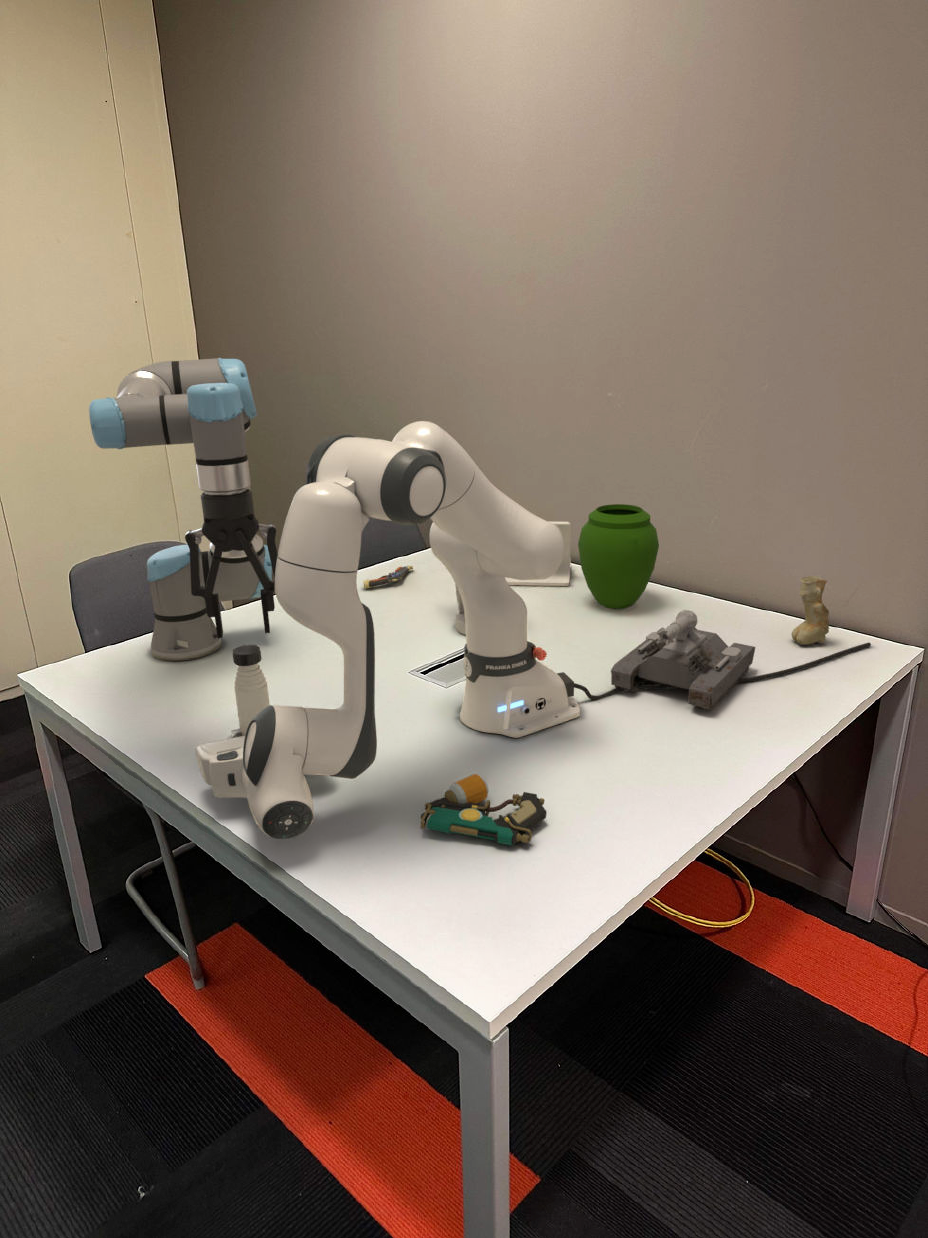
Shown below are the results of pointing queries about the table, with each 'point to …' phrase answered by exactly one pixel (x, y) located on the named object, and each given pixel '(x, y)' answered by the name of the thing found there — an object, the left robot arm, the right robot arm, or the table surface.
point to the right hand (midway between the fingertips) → (255, 729)
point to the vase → (618, 554)
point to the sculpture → (812, 612)
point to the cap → (247, 655)
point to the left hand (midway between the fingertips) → (244, 632)
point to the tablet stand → (563, 571)
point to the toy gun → (388, 577)
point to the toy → (685, 662)
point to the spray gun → (482, 813)
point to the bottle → (250, 694)
